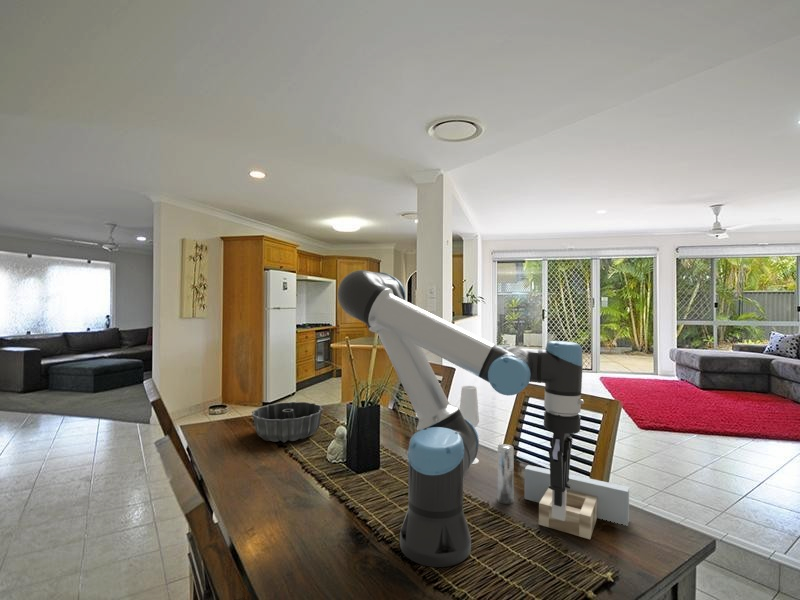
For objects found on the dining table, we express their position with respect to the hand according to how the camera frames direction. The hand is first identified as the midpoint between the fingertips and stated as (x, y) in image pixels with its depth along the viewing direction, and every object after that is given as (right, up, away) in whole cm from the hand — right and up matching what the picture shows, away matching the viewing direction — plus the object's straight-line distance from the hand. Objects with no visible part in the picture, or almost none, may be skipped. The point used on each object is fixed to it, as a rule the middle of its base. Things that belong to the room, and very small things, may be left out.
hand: (558, 517), depth 91 cm
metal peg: (-8, -4, +17) cm, 19 cm away
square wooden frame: (+5, -4, +6) cm, 9 cm away
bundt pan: (-79, -4, +67) cm, 104 cm away
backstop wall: (+9, -4, +12) cm, 16 cm away
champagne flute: (-13, -5, +44) cm, 46 cm away
